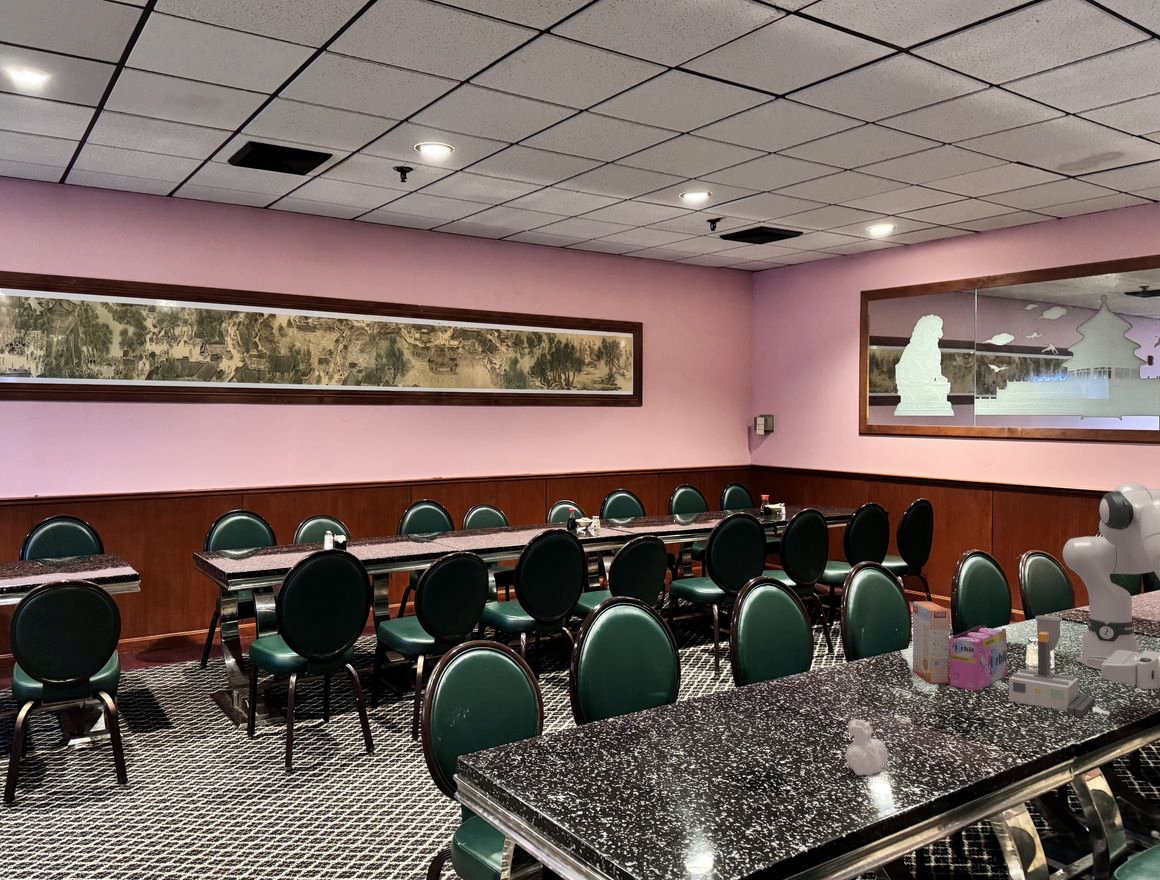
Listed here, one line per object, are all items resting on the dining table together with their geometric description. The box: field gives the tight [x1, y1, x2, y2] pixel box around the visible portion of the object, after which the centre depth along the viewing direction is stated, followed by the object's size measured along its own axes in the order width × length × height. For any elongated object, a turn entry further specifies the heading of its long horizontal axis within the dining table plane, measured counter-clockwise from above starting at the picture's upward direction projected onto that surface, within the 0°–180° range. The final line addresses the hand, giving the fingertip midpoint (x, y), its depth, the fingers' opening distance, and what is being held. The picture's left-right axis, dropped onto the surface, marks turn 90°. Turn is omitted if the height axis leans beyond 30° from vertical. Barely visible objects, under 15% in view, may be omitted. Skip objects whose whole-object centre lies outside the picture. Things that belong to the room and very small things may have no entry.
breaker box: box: [1008, 668, 1079, 712], centre depth 240 cm, size 11×14×7 cm
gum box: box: [949, 625, 1008, 692], centre depth 261 cm, size 24×8×14 cm, turn 136°
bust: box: [844, 718, 889, 777], centre depth 192 cm, size 12×8×11 cm
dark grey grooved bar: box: [1066, 693, 1096, 718], centre depth 234 cm, size 16×3×2 cm, turn 140°
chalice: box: [1035, 614, 1063, 674], centre depth 259 cm, size 7×7×18 cm
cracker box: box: [912, 601, 951, 685], centre depth 264 cm, size 14×6×21 cm, turn 179°
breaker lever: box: [1034, 632, 1053, 679], centre depth 240 cm, size 4×4×12 cm
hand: (1088, 660), depth 233 cm, fingers closed
